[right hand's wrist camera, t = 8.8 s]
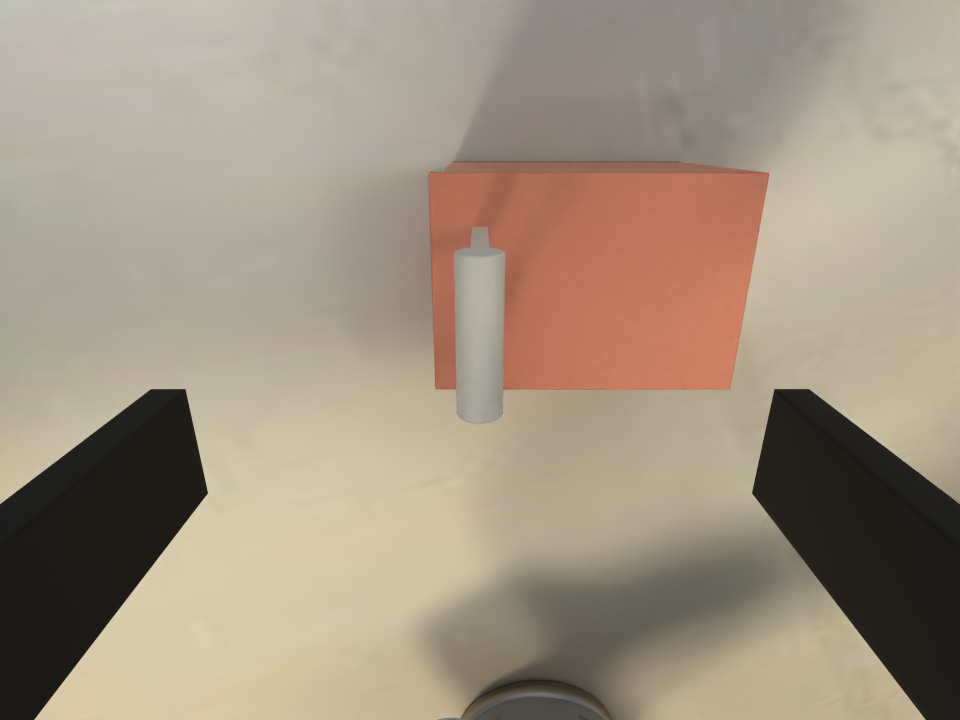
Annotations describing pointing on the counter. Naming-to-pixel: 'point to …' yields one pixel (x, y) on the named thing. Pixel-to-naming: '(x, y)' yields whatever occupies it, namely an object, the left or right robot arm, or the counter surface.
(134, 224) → the counter surface
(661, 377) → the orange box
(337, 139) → the counter surface
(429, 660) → the counter surface
